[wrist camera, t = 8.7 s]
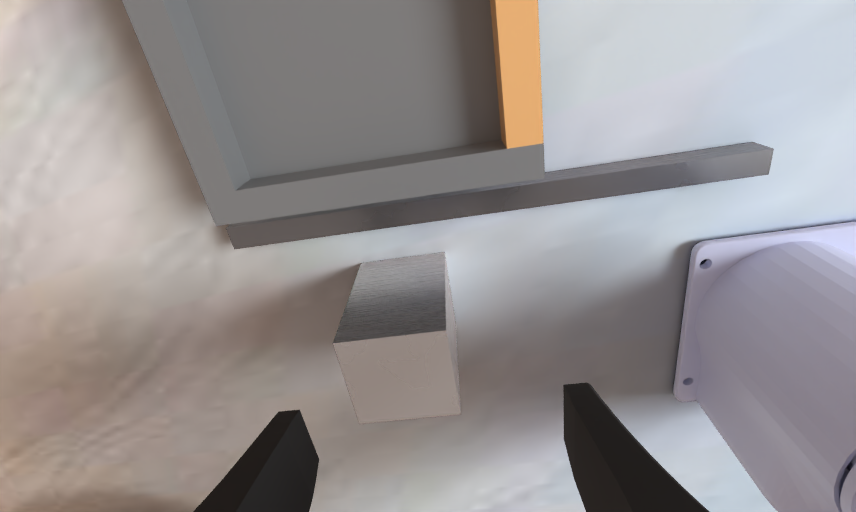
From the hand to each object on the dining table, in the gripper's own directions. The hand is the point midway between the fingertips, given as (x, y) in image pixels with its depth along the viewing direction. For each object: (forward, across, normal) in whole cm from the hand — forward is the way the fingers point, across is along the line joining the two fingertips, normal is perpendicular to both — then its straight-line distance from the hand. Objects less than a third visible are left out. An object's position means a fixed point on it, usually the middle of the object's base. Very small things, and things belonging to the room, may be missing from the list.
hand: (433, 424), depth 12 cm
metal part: (+10, +2, +2) cm, 10 cm away
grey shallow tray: (+10, +2, -10) cm, 14 cm away
